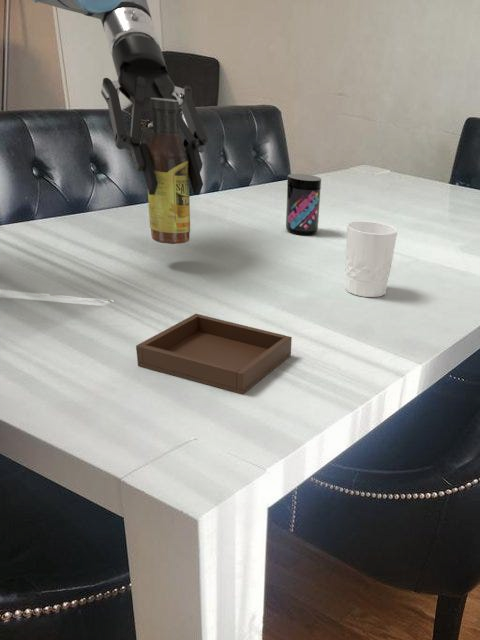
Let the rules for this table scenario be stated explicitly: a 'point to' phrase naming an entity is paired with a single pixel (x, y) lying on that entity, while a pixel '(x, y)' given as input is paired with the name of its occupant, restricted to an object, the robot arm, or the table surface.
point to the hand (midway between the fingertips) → (176, 189)
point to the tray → (215, 352)
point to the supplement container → (303, 204)
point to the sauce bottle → (168, 176)
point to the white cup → (369, 257)
